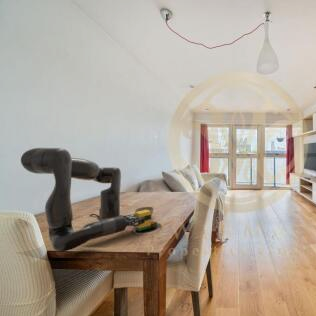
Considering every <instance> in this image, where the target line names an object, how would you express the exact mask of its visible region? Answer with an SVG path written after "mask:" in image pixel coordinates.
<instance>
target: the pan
mask: <svg viewBox="0 0 316 316" xmlns="http://www.w3.org/2000/svg"><path fill="white" fill-rule="evenodd" d="M131 227H133V228H132V230H131V231H132V232H133V233H137V234H146V233H151V232H154V231H157V230H159V229H160V228H162V224H161V223H160V222H157V226H155V227H151V228H148V229H145V230H142V231H138V230H136V229H135V227H134V225H132V226H131Z"/></svg>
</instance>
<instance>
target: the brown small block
mask: <svg viewBox="0 0 316 316" xmlns="http://www.w3.org/2000/svg"><path fill="white" fill-rule="evenodd" d="M157 223H158V221H151V227H155V226H157Z"/></svg>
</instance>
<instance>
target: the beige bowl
mask: <svg viewBox="0 0 316 316" xmlns="http://www.w3.org/2000/svg"><path fill="white" fill-rule="evenodd" d="M143 210H149V211H151V217H152V215H153V212H154V207H153V206H141V207H138V208H135V212H138V211H143Z"/></svg>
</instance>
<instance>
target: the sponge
mask: <svg viewBox="0 0 316 316" xmlns="http://www.w3.org/2000/svg"><path fill="white" fill-rule="evenodd" d="M134 214H135V217H143V216H147V215H151V211H149V210H143V211H138V212H136V211H135V212H134ZM136 220H137V218H136ZM141 221H142V220H141ZM151 222H152V218H151V219H149V220H146V221H145V223H143V224H140V225H138V226H136V227H135V229H136V230H138V231H142V230H145V229H148V228H151Z"/></svg>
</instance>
